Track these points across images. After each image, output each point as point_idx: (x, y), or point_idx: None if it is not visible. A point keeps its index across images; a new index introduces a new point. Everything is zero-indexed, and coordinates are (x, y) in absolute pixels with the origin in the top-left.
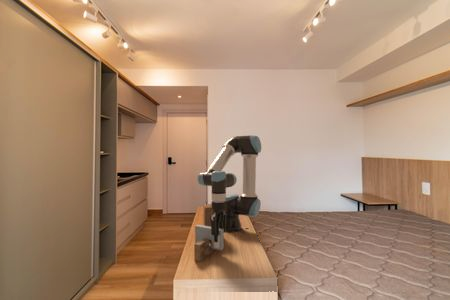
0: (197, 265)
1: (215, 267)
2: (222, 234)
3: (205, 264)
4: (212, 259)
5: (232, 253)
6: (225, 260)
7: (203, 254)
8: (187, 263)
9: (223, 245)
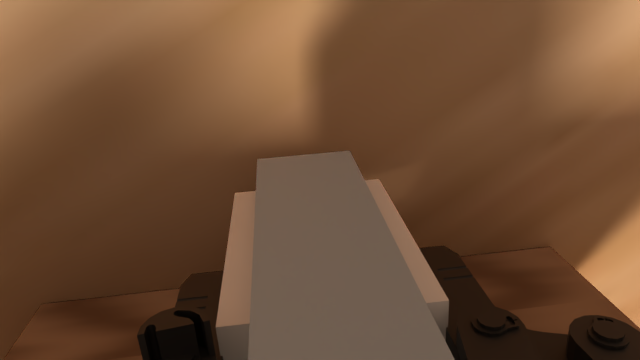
0: (626, 212)
1: (602, 18)
2: (313, 283)
3: (578, 159)
4: (440, 168)
5: (146, 47)
6: (387, 13)
7: (497, 281)
8: (621, 311)
9: (259, 174)
